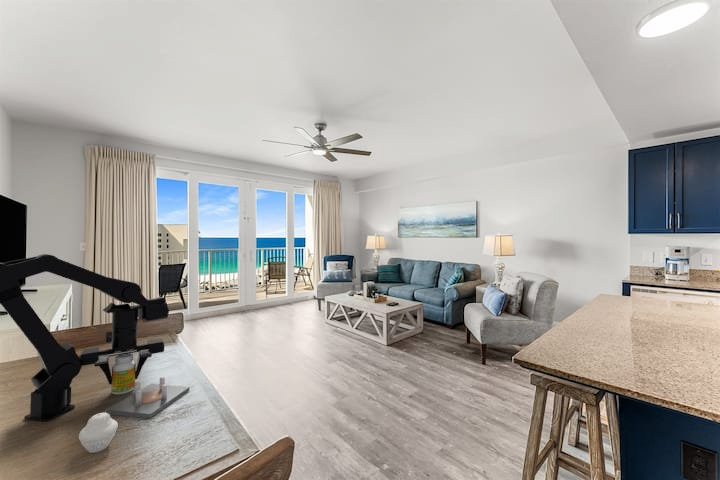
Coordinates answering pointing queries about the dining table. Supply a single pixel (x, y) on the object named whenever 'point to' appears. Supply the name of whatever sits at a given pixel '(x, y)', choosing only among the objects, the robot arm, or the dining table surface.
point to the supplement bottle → (123, 374)
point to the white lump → (98, 432)
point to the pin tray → (148, 400)
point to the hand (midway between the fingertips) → (123, 381)
